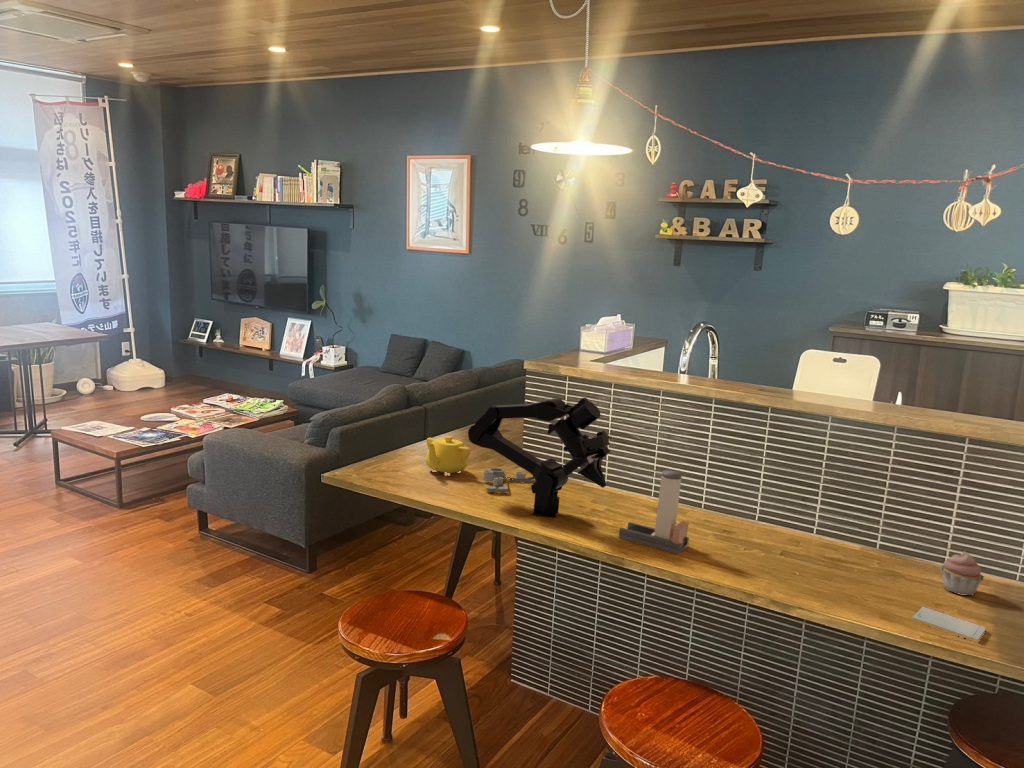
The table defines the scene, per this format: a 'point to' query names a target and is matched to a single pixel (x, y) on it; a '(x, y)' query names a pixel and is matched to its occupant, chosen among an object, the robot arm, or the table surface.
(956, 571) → the cupcake
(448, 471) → the teapot
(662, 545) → the rail
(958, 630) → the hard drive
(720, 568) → the table surface
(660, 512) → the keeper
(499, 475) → the pulley system
